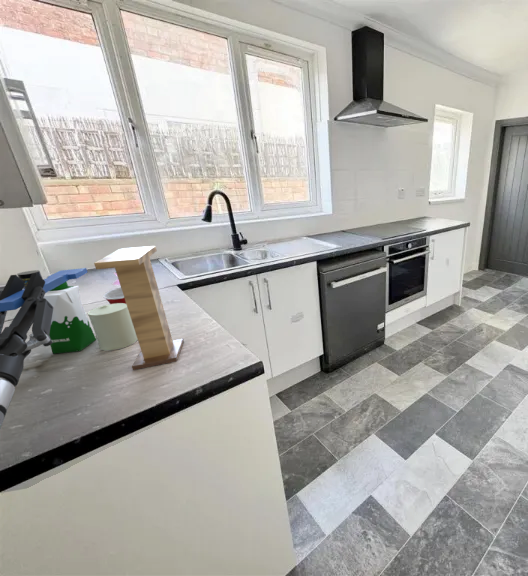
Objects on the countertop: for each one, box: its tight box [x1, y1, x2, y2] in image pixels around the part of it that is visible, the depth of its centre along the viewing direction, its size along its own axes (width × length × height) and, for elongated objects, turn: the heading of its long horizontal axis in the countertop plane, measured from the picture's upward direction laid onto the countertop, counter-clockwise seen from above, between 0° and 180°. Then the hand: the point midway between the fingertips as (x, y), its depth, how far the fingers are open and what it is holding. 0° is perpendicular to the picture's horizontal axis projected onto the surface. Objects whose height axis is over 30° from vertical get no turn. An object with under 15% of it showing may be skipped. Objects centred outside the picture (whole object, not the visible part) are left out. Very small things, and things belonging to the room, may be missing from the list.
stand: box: [93, 245, 185, 371], centre depth 82 cm, size 17×10×30 cm, turn 24°
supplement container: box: [16, 269, 43, 289], centre depth 136 cm, size 7×7×10 cm
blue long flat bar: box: [0, 267, 88, 312], centre depth 66 cm, size 26×5×2 cm, turn 24°
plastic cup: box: [102, 286, 126, 304], centre depth 107 cm, size 11×11×12 cm
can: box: [87, 303, 138, 352], centre depth 93 cm, size 9×9×12 cm
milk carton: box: [44, 281, 97, 355], centre depth 90 cm, size 9×9×20 cm
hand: (28, 278), depth 61 cm, fingers closed on blue long flat bar, 2 cm apart
